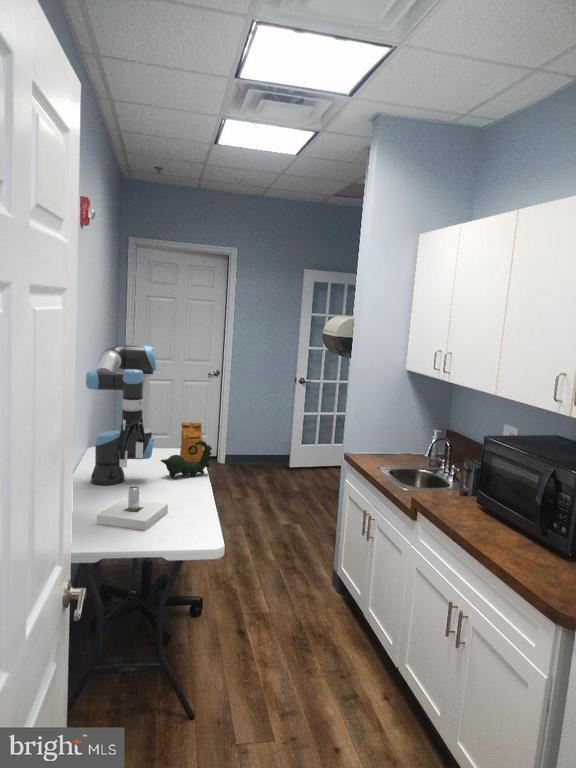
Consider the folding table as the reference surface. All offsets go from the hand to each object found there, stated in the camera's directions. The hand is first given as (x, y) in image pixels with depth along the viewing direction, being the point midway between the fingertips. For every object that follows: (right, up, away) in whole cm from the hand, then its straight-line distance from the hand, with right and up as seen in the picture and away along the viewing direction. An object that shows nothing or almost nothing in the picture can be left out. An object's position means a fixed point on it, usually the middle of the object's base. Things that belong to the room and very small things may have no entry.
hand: (131, 462), depth 214 cm
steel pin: (+1, -22, -1) cm, 22 cm away
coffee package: (+8, -12, +86) cm, 88 cm away
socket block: (+1, -22, -1) cm, 22 cm away
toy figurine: (+10, -15, +58) cm, 61 cm away
